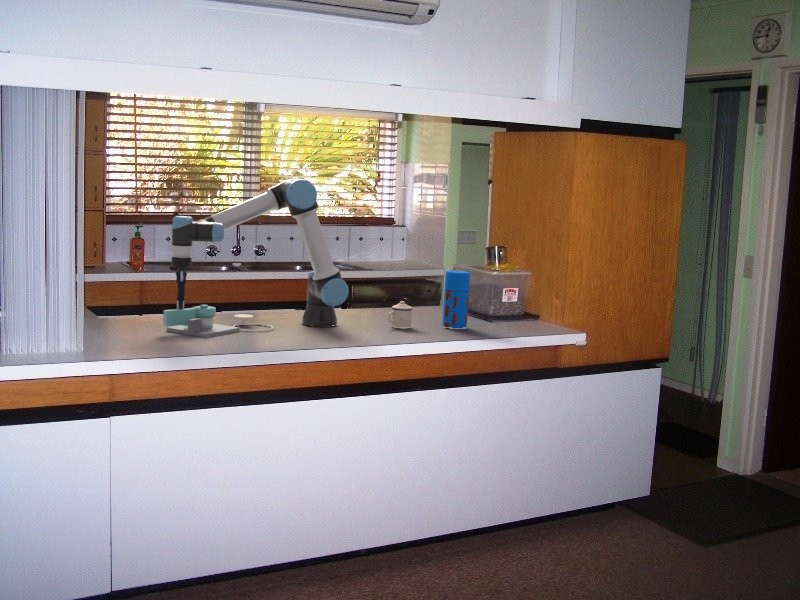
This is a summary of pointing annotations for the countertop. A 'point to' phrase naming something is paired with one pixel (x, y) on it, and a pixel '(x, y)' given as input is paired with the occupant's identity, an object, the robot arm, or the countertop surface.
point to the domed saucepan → (187, 315)
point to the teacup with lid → (400, 315)
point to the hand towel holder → (246, 316)
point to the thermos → (456, 299)
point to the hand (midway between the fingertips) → (180, 316)
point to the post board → (202, 328)
